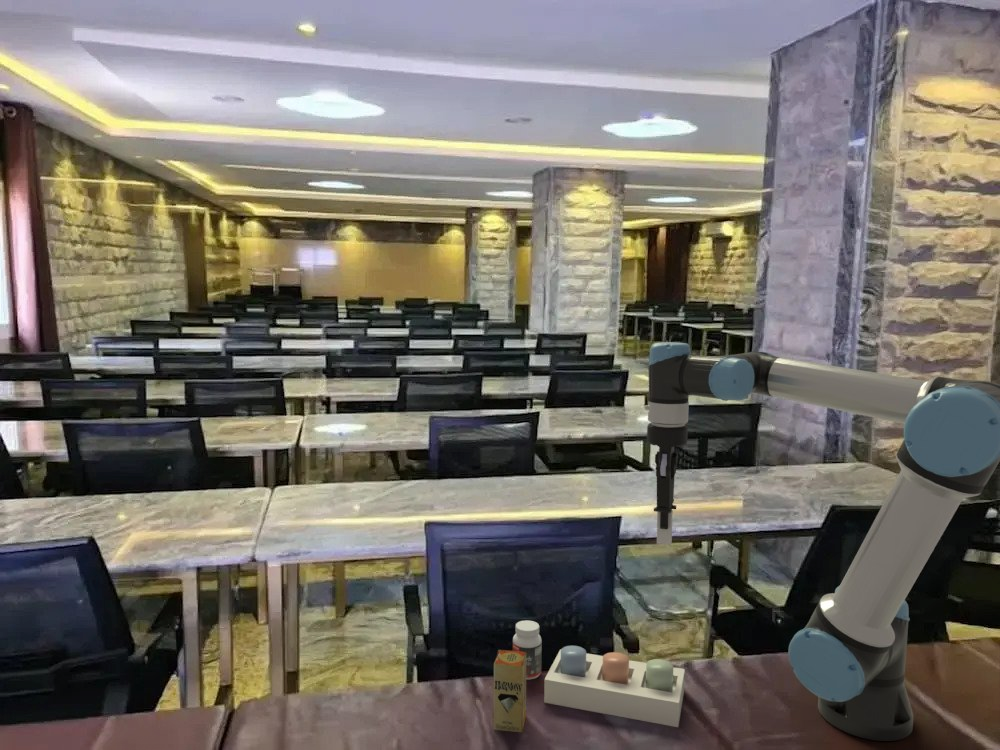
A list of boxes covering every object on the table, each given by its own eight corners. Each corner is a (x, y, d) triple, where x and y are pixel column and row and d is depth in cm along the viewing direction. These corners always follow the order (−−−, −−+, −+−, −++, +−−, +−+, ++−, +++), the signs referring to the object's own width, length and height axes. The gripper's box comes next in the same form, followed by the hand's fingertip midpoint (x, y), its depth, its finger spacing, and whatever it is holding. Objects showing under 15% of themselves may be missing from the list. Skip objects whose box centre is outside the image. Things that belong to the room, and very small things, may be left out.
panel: (684, 691, 139) (684, 669, 138) (678, 727, 127) (678, 702, 127) (560, 670, 146) (560, 649, 146) (544, 702, 135) (544, 679, 134)
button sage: (674, 682, 135) (674, 661, 135) (671, 695, 131) (672, 674, 130) (647, 677, 137) (648, 657, 136) (644, 691, 132) (644, 669, 132)
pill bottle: (507, 676, 144) (507, 628, 143) (520, 663, 149) (520, 616, 148) (533, 683, 141) (534, 634, 140) (546, 670, 146) (546, 622, 145)
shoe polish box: (498, 713, 131) (498, 649, 130) (526, 716, 131) (526, 651, 129) (493, 729, 127) (493, 663, 125) (522, 732, 126) (522, 666, 124)
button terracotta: (630, 674, 138) (630, 654, 137) (626, 687, 133) (626, 667, 133) (604, 670, 139) (605, 650, 139) (600, 683, 135) (600, 662, 134)
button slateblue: (588, 667, 140) (588, 647, 140) (583, 680, 136) (583, 659, 135) (563, 663, 142) (564, 644, 141) (557, 676, 137) (557, 655, 137)
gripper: (651, 416, 147) (648, 530, 150) (642, 428, 135) (640, 552, 138) (690, 418, 145) (686, 534, 148) (684, 430, 133) (681, 556, 135)
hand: (664, 543), depth 143 cm, fingers closed
